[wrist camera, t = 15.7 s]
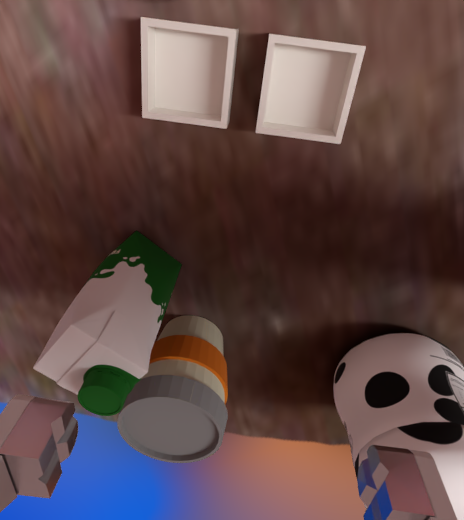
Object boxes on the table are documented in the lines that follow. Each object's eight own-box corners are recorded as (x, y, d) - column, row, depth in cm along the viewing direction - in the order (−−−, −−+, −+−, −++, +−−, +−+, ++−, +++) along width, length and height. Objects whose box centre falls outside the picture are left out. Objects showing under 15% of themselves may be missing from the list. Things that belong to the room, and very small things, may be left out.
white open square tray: (358, 44, 34) (365, 46, 32) (335, 136, 39) (340, 144, 36) (269, 33, 35) (269, 33, 32) (256, 125, 39) (255, 132, 36)
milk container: (322, 401, 60) (340, 528, 45) (338, 317, 51) (368, 441, 36) (434, 409, 59) (492, 543, 44) (472, 324, 50) (562, 456, 35)
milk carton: (153, 302, 52) (97, 434, 35) (97, 263, 50) (8, 386, 33) (192, 263, 48) (150, 391, 32) (133, 219, 46) (54, 333, 29)
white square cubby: (238, 29, 35) (236, 29, 32) (229, 122, 39) (226, 128, 36) (149, 17, 35) (140, 16, 32) (150, 111, 39) (142, 117, 36)
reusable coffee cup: (161, 370, 59) (132, 464, 47) (140, 307, 53) (99, 396, 40) (241, 367, 58) (232, 464, 45) (228, 302, 51) (215, 393, 39)
